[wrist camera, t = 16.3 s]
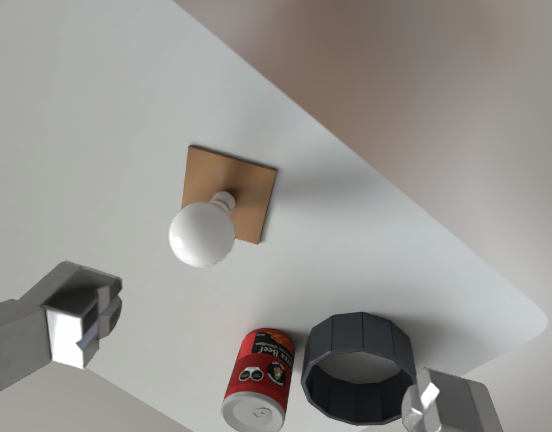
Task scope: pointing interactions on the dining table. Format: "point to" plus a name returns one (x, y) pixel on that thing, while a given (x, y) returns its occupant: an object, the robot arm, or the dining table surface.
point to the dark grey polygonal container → (357, 397)
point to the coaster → (230, 188)
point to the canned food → (260, 383)
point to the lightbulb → (204, 231)
